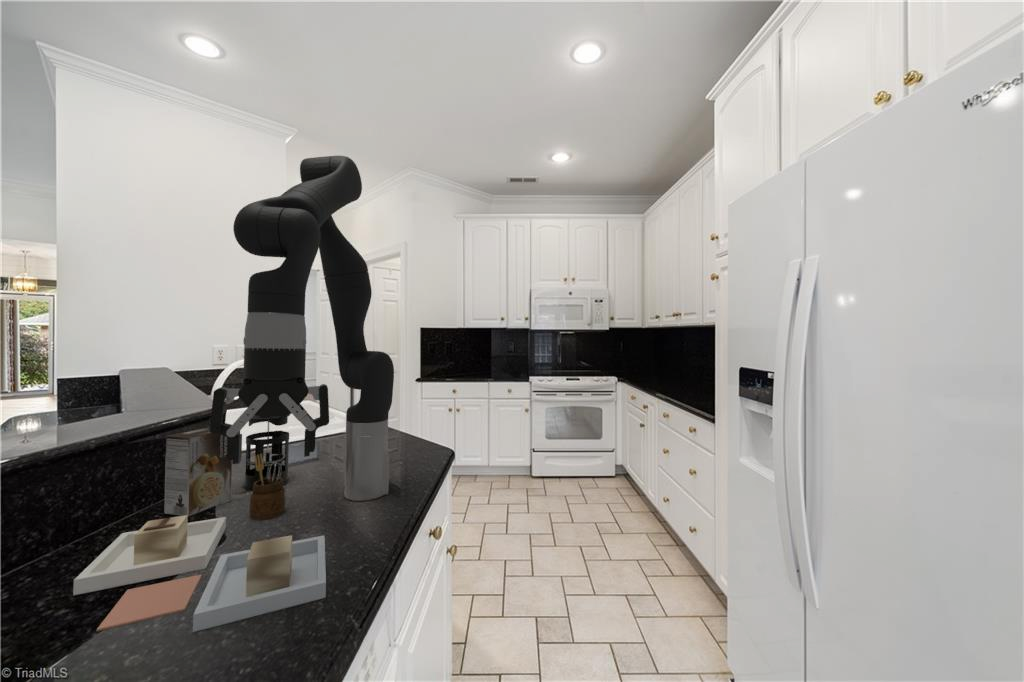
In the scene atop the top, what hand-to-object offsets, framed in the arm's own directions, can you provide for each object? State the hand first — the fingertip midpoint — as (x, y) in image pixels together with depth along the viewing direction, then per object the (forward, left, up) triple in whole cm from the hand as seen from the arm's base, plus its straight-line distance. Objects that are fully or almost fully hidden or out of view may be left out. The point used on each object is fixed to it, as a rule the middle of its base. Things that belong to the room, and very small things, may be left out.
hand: (273, 458), depth 54 cm
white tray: (+16, -15, -18) cm, 28 cm away
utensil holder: (+3, -26, -18) cm, 32 cm away
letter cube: (+16, -15, -18) cm, 28 cm away
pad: (+13, -2, -18) cm, 22 cm away
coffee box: (+16, -36, -18) cm, 43 cm away
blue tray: (0, 0, -18) cm, 18 cm away
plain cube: (0, 0, -18) cm, 18 cm away
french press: (+5, -47, -18) cm, 51 cm away
